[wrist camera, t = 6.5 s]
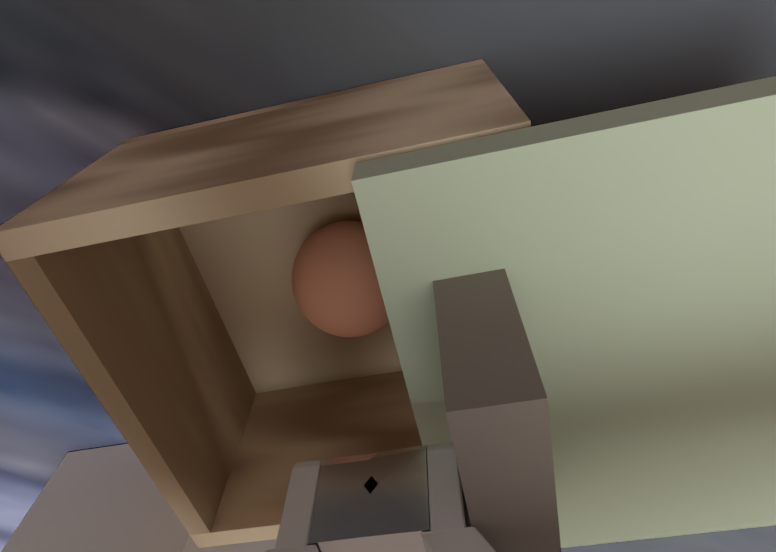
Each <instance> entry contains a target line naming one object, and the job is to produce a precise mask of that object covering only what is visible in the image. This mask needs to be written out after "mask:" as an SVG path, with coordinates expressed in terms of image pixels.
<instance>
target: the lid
mask: <svg viewBox="0 0 776 552" xmlns="http://www.w3.org/2000/svg"><path fill="white" fill-rule="evenodd" d="M351 182H352V186H353V190H354V193H355V197H356V201H357V205H358V208H359V212H360V216H361V219H362V223H363V227H364V231H365V234H366V238H367V242H368V245H369V249H370V253H371V257H372V260H373V264H374V268H375V271H376V275H377V279H378V283H379V286H380V290H381V294H382V297H383V301H384V305H385V309H386V312H387V316H388V320H389V323H390V327H391V331H392V335H393V338H394V342H395V346H396V349H397V353H398V357H399V361H400V364H401V368H402V372H403V375H404V379H405V383H406V387H407V390H408V394H409V398H410V401H411V405H412V409H413V413H414V416H415V420H416V424H417V428H418V431H419V435H420V439H421V442H422V446H423V445H432V444H440V443H447V442H452V443H453V447H454V451H455V456H456V460H457V465H458V469H459V474H460V478H461V482H462V487H463V491H464V496H465V500H466V504H467V509H468V513H469V518H470V522H471V526H472V527H476V529H477V530H478V531H479V532H480V533H481V535H482V536H483V537H484V538H485V539H486V541H487V542H488V543H489V544H490V545H491V546H492V548H493V549H494V550H495V551H496V552H561V548H565V547H574V546H584V545H593V544H603V543H612V542H621V541H631V540H640V539H650V538H659V537H668V536H678V535H687V534H696V533H706V532H715V531H725V530H734V529H743V528H753V527H762V526H772V525H776V76H773V77H768V78H764V79H759V80H754V81H749V82H744V83H739V84H735V85H730V86H725V87H720V88H715V89H711V90H706V91H701V92H696V93H691V94H686V95H682V96H677V97H672V98H667V99H662V100H658V101H653V102H648V103H643V104H638V105H633V106H629V107H624V108H619V109H614V110H609V111H605V112H600V113H595V114H590V115H585V116H580V117H576V118H571V119H566V120H561V121H556V122H552V123H547V124H542V125H537V126H532V127H527V128H523V129H518V130H513V131H508V132H503V133H499V134H494V135H489V136H484V137H479V138H474V139H470V140H465V141H460V142H455V143H450V144H446V145H441V146H436V147H431V148H426V149H421V150H417V151H412V152H407V153H402V154H397V155H393V156H388V157H383V158H378V159H373V160H368V161H364V162H359V163H355V166H354V170H353V175H352V179H351Z"/></svg>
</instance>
